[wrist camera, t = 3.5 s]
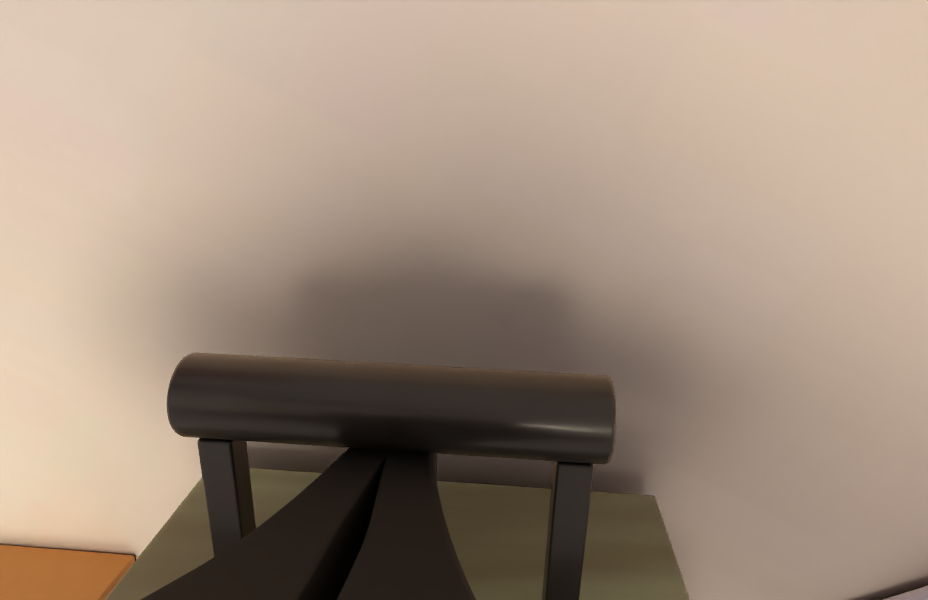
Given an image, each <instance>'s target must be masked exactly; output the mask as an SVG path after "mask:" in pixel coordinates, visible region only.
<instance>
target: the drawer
mask: <svg viewBox="0 0 928 600" xmlns="http://www.w3.org/2000/svg"><path fill="white" fill-rule="evenodd" d="M167 413H168V418H169V422H170V425H171V427H172V428H173V430H174V431H175V432H176V433H177V434H179V435H181V436H183V437H196V438H200V439H199V440H198V449H199V456H200V463H201V470H202V478H201V479H200V481H199V482H198V483H197V484H196V486H195V487H194V488H193V490H192V491H191V492H190V493H189V495H188V496H187V497H186V498H185V500H184V501H183V502H182V503H181V505H180V506H179V507H178V508H177V510H176V511H175V512H174V513H173V515H172V516H171V517H170V518H169V520H168V521H167V522H166V523H165V525H164V526H163V527H162V528H161V530H160V531H159V532H158V533H157V535H156V536H155V537H154V538H153V540H152V541H151V542H150V544H149V545H148V546H147V547H146V549H145V550H144V551H143V552H142V554H141V555H140V556H139V557H138V559H137V560H136V561H135V562H134V564H133V565H132V566H131V567H130V569H129V570H128V571H127V572H126V574H125V575H124V576H123V577H122V579H121V580H120V581H119V582H118V584H117V585H116V586H115V587H114V589H113V590H112V591H111V592H110V594H109V595H108V596H107V597H106V599H105V600H140V599H142V598H144V597H146V596H148V595H150V594H151V593H153V592H155V591H157V590H158V589H160V588H162V587H164V586H165V585H167V584H169V583H171V582H172V581H174V580H176V579H178V578H180V577H181V576H183V575H185V574H187V573H188V572H190V571H192V570H194V569H195V568H197V567H199V566H201V565H202V564H204V563H205V562H207V561H209V560H210V559H212V558H213V557H215V556H216V555H218V554H219V553H221V552H222V551H224V550H225V549H227V548H229V547H230V546H232V545H233V544H235V543H236V542H238V541H239V540H240V539H242V538H243V537H245V536H246V535H248V534H249V533H250V532H252V531H253V530H255V529H256V528H257V527H259V526H260V525H261V524H263V523H264V522H265V521H266V520H268V519H269V518H270V517H271V516H273V515H274V514H275V513H276V512H278V511H279V510H280V509H281V508H283V507H284V506H285V505H286V504H288V503H289V502H290V501H291V500H292V499H294V498H295V497H296V496H297V495H298V494H299V493H301V492H302V491H303V490H304V489H305V488H306V487H307V486H308V485H310V484H311V483H312V482H313V481H314V480H315V479H316V478H317V477H319V476H320V475H321V474H322V473H315V472H300V471H286V470H271V469H256V468H249V461H248V452H247V443H246V441H257V442H272V443H287V444H302V445H318V446H333V447H348V448H363V449H379V450H394V451H409V452H424V453H440V454H455V455H470V456H485V457H501V458H516V459H531V460H546V461H553V472H552V484H551V489H548V488H533V487H519V486H504V485H490V484H475V483H460V482H446V481H437V487H438V492H439V497H440V501H441V505H442V510H443V514H444V517H445V521H446V524H447V528H448V531H449V534H450V537H451V540H452V543H453V546H454V549H455V551H456V554H457V557H458V559H459V562H460V565H461V567H462V569H463V572H464V574H465V576H466V579H467V581H468V583H469V586H470V588H471V590H472V592H473V594H474V596H475V598H476V600H690V599H689V596H688V593H687V590H686V587H685V584H684V581H683V578H682V575H681V572H680V570H679V567H678V564H677V561H676V558H675V555H674V552H673V549H672V546H671V543H670V540H669V537H668V534H667V531H666V528H665V525H664V522H663V519H662V516H661V513H660V510H659V507H658V504H657V501H656V498H655V496H650V495H635V494H621V493H606V492H592V491H591V489H592V480H593V471H594V466H593V464H606V463H609V461H610V459H611V457H612V454H613V450H614V444H615V436H616V399H615V391H614V387H613V383H612V381H611V379H610V377H608V376H604V375H586V374H568V373H550V372H532V371H514V370H497V369H479V368H461V367H443V366H425V365H407V364H389V363H371V362H353V361H335V360H318V359H300V358H282V357H264V356H246V355H228V354H210V353H192V354H189V355H187V356H186V357H184V358H183V359H182V360H181V361H180V362H179V364H178V365H177V367H176V369H175V371H174V373H173V375H172V378H171V381H170V384H169V389H168V395H167Z"/></svg>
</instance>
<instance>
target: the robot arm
mask: <svg viewBox="0 0 928 600" xmlns="http://www.w3.org/2000/svg"><path fill="white" fill-rule="evenodd" d="M140 600H476V598H475V596H474V594H473V592H472V590H471V588H470V586H469V583H468V581H467V579H466V576H465V574H464V572H463V569H462V567H461V565H460V562H459V559H458V557H457V554H456V551H455V549H454V546H453V543H452V540H451V537H450V534H449V531H448V528H447V524H446V521H445V517H444V514H443V510H442V505H441V501H440V497H439V492H438V487H437V453H424V452H409V451H394V450H379V449H363V448H348V449H347V450H346V451H345V452H344V453H343V454H342V455H341V456H340V457H339V458H338V459H337V460H336V461H335V462H334V463H333V464H332V465H331V466H329V467H328V468H327V469H326V470H325V471H324V472H323V473H322V474H321V475H320V476H319V477H317V478H316V479H315V480H314V481H313V482H312V483H311V484H310V485H308V486H307V487H306V488H305V489H304V490H303V491H302V492H301V493H299V494H298V495H297V496H296V497H295V498H294V499H292V500H291V501H290V502H289V503H288V504H286V505H285V506H284V507H283V508H281V509H280V510H279V511H278V512H276V513H275V514H274V515H273V516H271V517H270V518H269V519H268V520H266V521H265V522H264V523H263V524H261V525H260V526H259V527H257V528H256V529H255V530H253V531H252V532H250V533H249V534H248V535H246V536H245V537H243V538H242V539H240V540H239V541H238V542H236V543H235V544H233V545H232V546H230V547H229V548H227V549H225V550H224V551H222V552H221V553H219V554H218V555H216V556H215V557H213V558H212V559H210V560H209V561H207V562H205V563H204V564H202V565H201V566H199V567H197V568H195V569H194V570H192V571H190V572H188V573H187V574H185V575H183V576H181V577H180V578H178V579H176V580H174V581H172V582H171V583H169V584H167V585H165V586H164V587H162V588H160V589H158V590H157V591H155V592H153V593H151V594H150V595H148V596H146V597H144V598H142V599H140ZM883 600H928V586H925V587H922V588H918V589H915V590H912V591H909V592H905V593H902V594H899V595H896V596H892V597H889V598H886V599H883Z"/></svg>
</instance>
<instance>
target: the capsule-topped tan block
mask: <svg viewBox="0 0 928 600" xmlns="http://www.w3.org/2000/svg"><path fill="white" fill-rule="evenodd" d="M134 562H135V557H134V556H133V555H122V554H109V553H97V552H84V551H72V550H59V549H47V548H34V547H21V546H9V545H0V600H105V599H106V597H107V596H108V595H109V594H110V592H111V591H112V590H113V589H114V587H115V586H116V585H117V584H118V582H119V581H120V580H121V579H122V577H123V576H124V575H125V574H126V572H127V571H128V570H129V569H130V567H131V566H132V565H133V564H134Z"/></svg>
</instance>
